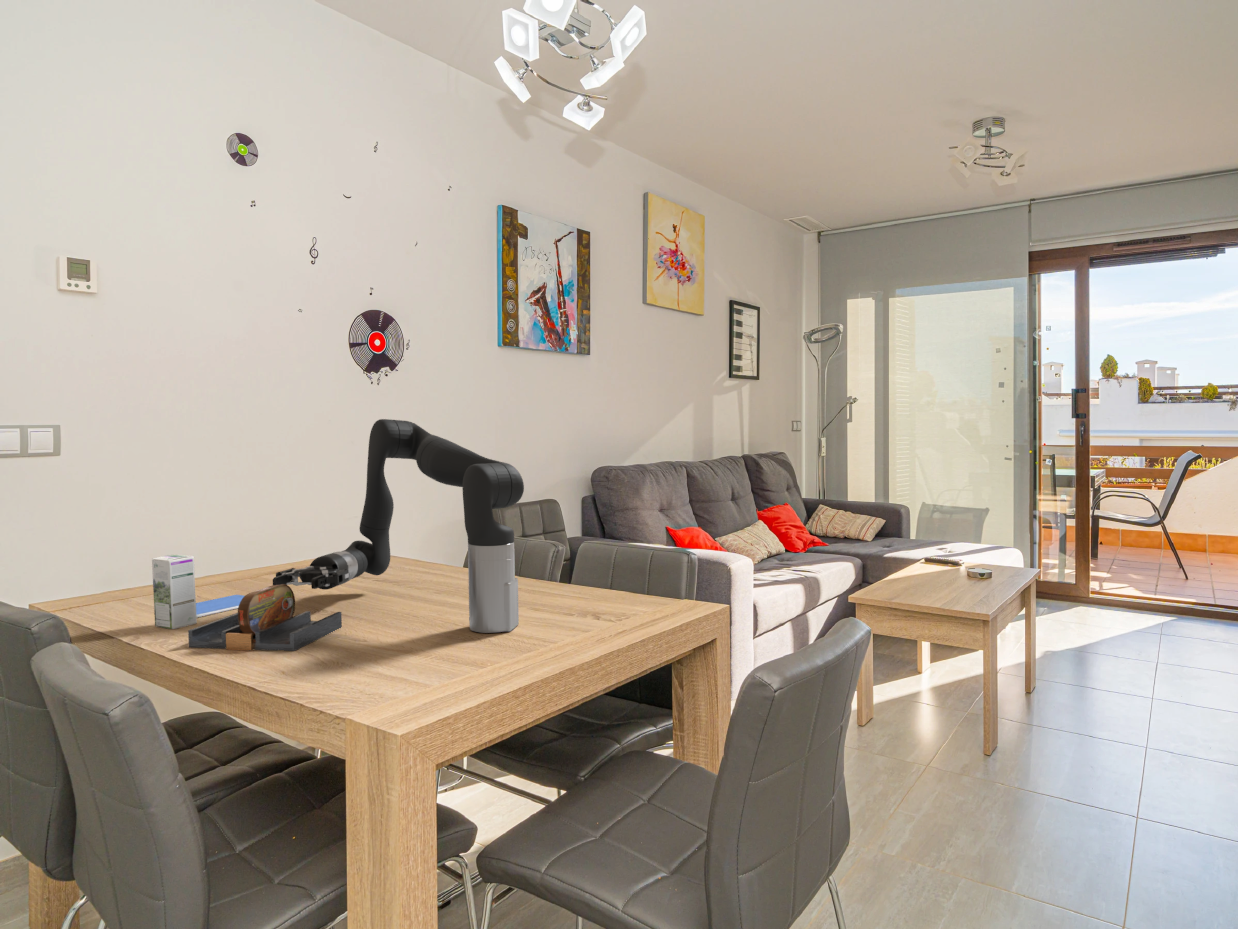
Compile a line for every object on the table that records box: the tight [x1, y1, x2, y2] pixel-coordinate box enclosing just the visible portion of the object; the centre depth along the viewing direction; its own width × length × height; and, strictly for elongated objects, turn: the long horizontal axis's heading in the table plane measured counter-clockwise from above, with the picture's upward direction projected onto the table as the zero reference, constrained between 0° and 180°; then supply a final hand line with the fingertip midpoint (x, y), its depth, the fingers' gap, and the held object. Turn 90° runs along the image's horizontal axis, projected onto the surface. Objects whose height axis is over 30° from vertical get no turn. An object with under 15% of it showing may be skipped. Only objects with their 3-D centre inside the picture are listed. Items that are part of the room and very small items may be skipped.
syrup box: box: [151, 554, 198, 630], centre depth 157 cm, size 6×6×14 cm
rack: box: [187, 610, 343, 652], centre depth 147 cm, size 21×18×3 cm
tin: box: [237, 584, 296, 636], centre depth 148 cm, size 15×3×8 cm, turn 171°
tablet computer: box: [196, 594, 245, 619], centre depth 175 cm, size 19×13×1 cm, turn 153°
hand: (293, 583), depth 156 cm, fingers open, 8 cm apart
